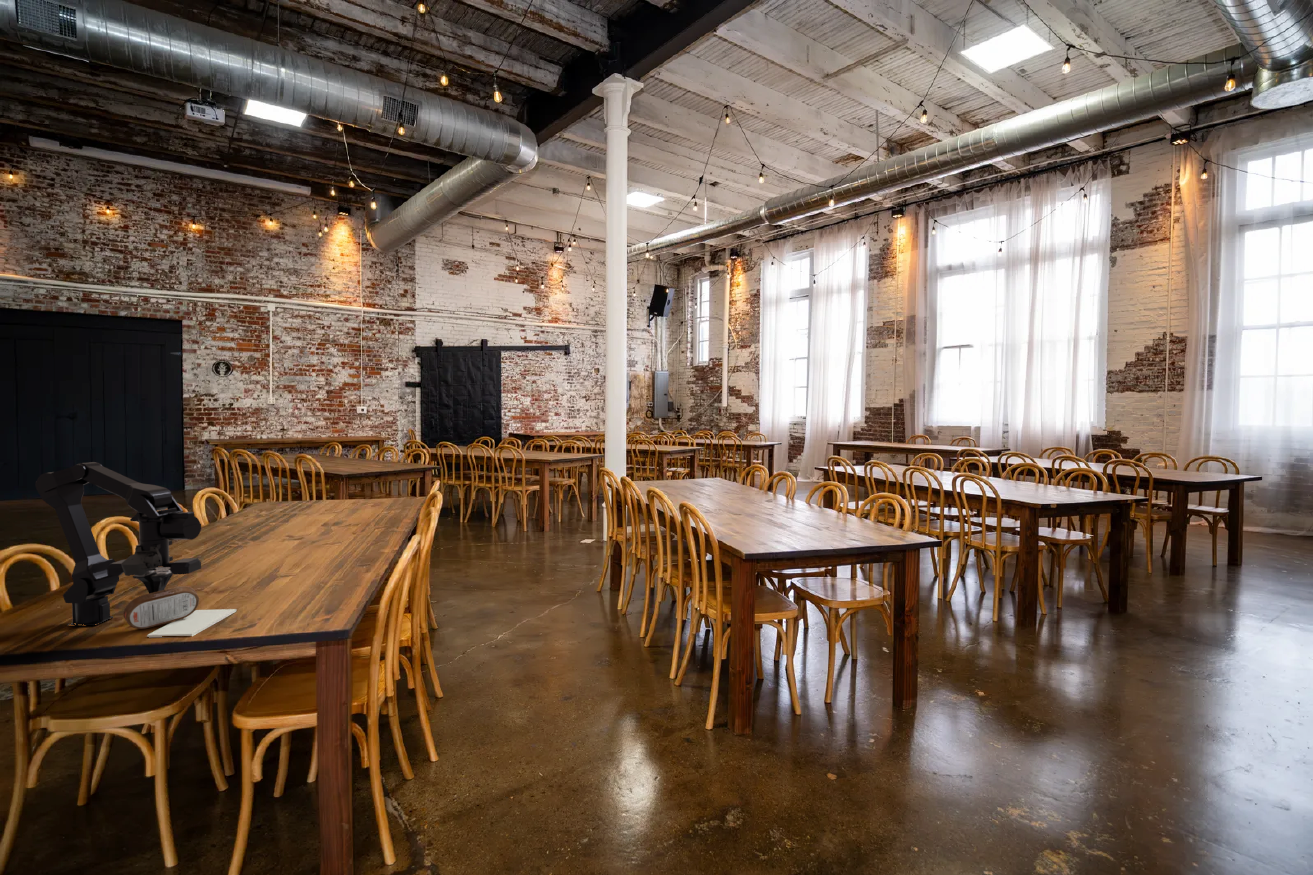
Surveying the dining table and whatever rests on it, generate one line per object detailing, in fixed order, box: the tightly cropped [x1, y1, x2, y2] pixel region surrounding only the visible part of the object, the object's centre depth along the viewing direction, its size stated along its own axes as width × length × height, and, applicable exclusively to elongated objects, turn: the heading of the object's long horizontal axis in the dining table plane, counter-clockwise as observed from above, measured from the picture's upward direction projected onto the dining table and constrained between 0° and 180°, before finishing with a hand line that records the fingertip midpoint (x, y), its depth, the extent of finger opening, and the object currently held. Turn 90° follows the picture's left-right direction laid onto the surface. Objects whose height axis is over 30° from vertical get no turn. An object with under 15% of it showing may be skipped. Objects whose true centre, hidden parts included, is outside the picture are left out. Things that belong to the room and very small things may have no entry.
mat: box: [146, 608, 237, 638], centre depth 163 cm, size 10×19×1 cm, turn 5°
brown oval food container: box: [122, 585, 200, 630], centre depth 160 cm, size 15×3×8 cm, turn 140°
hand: (156, 600), depth 161 cm, fingers closed
